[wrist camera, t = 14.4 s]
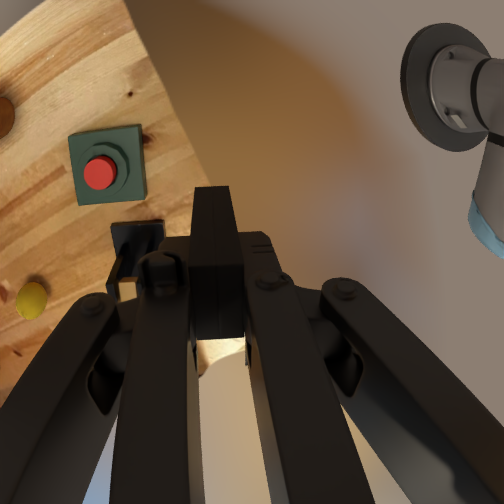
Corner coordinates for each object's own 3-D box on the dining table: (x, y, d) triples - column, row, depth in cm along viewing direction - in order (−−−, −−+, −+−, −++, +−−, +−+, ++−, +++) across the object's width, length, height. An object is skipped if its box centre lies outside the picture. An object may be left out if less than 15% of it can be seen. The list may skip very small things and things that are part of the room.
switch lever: (161, 364, 43) (159, 373, 41) (128, 364, 42) (125, 373, 40) (149, 276, 40) (145, 281, 38) (113, 277, 40) (108, 283, 37)
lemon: (35, 268, 46) (16, 296, 39) (58, 289, 49) (42, 318, 42) (22, 284, 47) (4, 312, 41) (44, 303, 50) (28, 333, 43)
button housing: (141, 124, 38) (135, 128, 35) (147, 194, 43) (142, 204, 40) (73, 133, 37) (62, 139, 34) (83, 200, 42) (73, 211, 39)
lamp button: (114, 154, 36) (111, 157, 35) (118, 183, 38) (114, 188, 37) (86, 157, 36) (81, 161, 34) (90, 186, 38) (86, 191, 36)
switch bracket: (171, 277, 51) (165, 327, 40) (123, 279, 50) (108, 328, 40) (163, 219, 46) (152, 262, 35) (112, 223, 45) (88, 265, 35)
